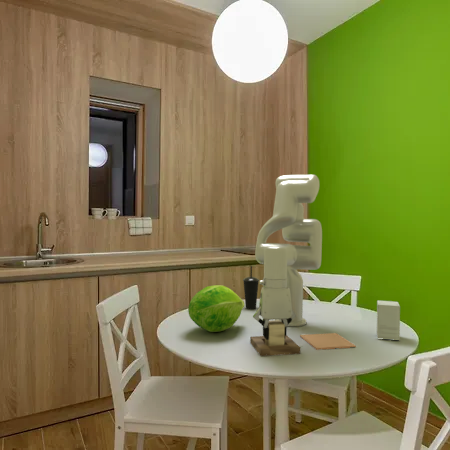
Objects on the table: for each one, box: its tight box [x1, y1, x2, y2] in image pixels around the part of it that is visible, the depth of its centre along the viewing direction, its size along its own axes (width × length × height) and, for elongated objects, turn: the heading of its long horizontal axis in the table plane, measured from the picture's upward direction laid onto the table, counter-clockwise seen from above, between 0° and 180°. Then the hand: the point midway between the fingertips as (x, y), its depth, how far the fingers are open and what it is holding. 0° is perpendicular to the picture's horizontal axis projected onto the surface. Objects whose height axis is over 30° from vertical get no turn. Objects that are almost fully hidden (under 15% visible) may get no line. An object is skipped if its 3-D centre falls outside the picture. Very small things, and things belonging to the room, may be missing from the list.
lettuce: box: [187, 284, 246, 333], centre depth 146 cm, size 19×25×17 cm
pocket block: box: [249, 334, 301, 357], centre depth 127 cm, size 13×13×2 cm
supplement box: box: [376, 300, 401, 341], centre depth 139 cm, size 7×7×13 cm
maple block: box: [265, 319, 285, 346], centre depth 128 cm, size 5×5×8 cm
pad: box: [299, 332, 357, 351], centre depth 134 cm, size 14×14×1 cm
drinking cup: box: [242, 265, 260, 310], centre depth 181 cm, size 8×8×20 cm
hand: (274, 337), depth 128 cm, fingers closed on maple block, 5 cm apart
